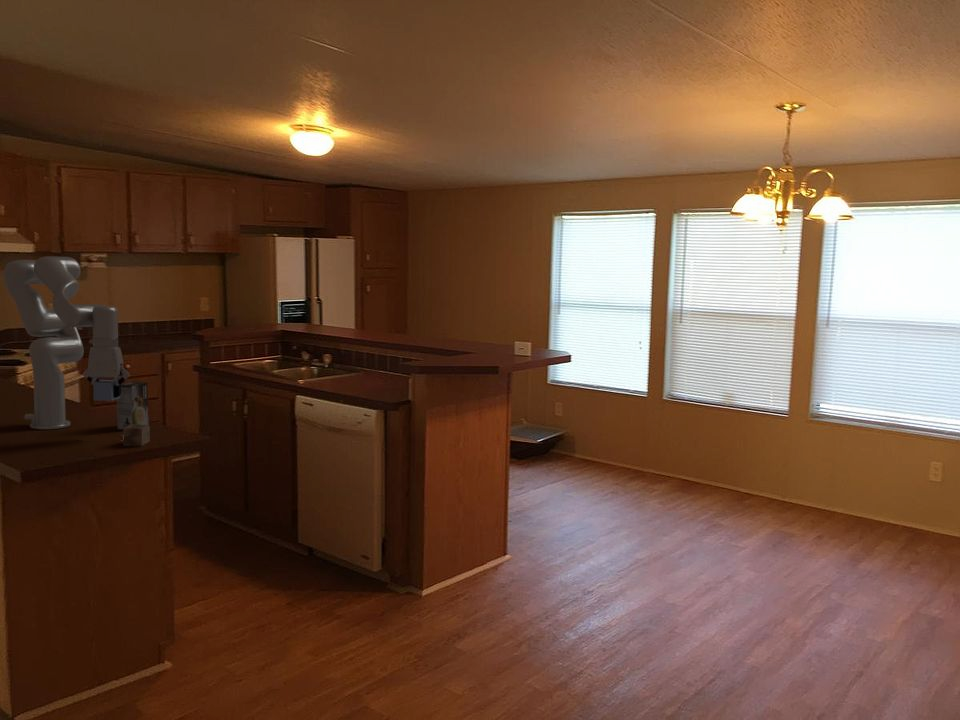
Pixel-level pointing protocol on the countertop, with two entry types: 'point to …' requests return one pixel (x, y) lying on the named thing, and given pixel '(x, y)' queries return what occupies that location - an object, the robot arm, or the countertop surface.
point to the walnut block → (136, 435)
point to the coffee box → (133, 404)
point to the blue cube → (104, 390)
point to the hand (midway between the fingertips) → (107, 396)
